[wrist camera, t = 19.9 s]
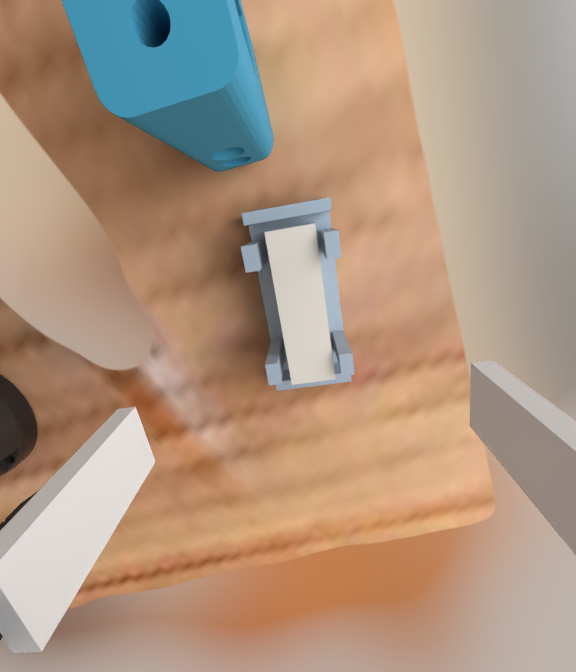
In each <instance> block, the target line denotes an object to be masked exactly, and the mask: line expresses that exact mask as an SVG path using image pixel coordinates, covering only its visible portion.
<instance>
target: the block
mask: <svg viewBox="0 0 576 672" xmlns="http://www.w3.org/2000/svg"><path fill="white" fill-rule="evenodd" d="M62 2H63V5H64V8H65V11H66V13H67V16H68V19H69V21H70V24H71V27H72V29H73V32H74V35H75V38H76V40H77V43H78V46H79V48H80V51H81V54H82V57H83V59H84V62H85V65H86V67H87V70H88V73H89V75H90V78H91V81H92V84H93V86H94V89H95V92H96V94H97V96H98V98H99V100H100V101H101V103H102V104H103V105H104V106H105V108H106V109H108V110H109V111H110V112H111V113H113V114H115V115H116V116H118V117H120V118H122V119H123V120H125V121H127V122H129V123H131V124H132V125H134V126H136V127H138V128H139V129H141V130H143V131H145V132H146V133H148V134H150V135H152V136H154V137H155V138H157V139H159V140H161V141H162V142H164V143H166V144H168V145H170V146H171V147H173V148H175V149H177V150H178V151H180V152H182V153H184V154H185V155H187V156H189V157H191V158H193V159H194V160H196V161H198V162H200V163H201V164H203V165H205V166H207V167H209V168H210V169H212V170H214V171H218V172H221V171H225V170H229V169H232V168H236V167H239V166H243V165H246V164H250V163H253V162H256V161H260V160H263V159H265V158H267V157H268V156H269V154H270V153H271V150H272V145H273V133H272V128H271V124H270V120H269V115H268V111H267V107H266V102H265V98H264V94H263V89H262V85H261V81H260V76H259V72H258V68H257V64H256V59H255V55H254V51H253V46H252V42H251V39H250V35H249V31H248V27H247V23H246V19H245V16H244V12H243V8H242V4H241V0H62Z"/></svg>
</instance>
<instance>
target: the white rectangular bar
mask: <svg viewBox="0 0 576 672" xmlns="http://www.w3.org/2000/svg"><path fill="white" fill-rule="evenodd" d="M264 233H265V239H266V244H267V250H268V255H269V261H270V267H271V272H272V278H273V283H274V289H275V294H276V300H277V305H278V311H279V316H280V322H281V328H282V333H283V339H284V344H285V350H286V355H287V361H288V366H289V372H290V378H291V383H292V385H295V384H303V383H311V382H318V381H326V380H334V379H335V371H334V364H333V356H332V348H331V341H330V333H329V325H328V318H327V310H326V302H325V295H324V287H323V280H322V272H321V264H320V257H319V249H318V241H317V234H316V226H315V223H309V224H303V225H297V226H292V227H286V228H280V229H274V230H269V231H266V232H264Z"/></svg>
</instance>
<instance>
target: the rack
mask: <svg viewBox="0 0 576 672" xmlns="http://www.w3.org/2000/svg"><path fill="white" fill-rule="evenodd" d="M331 210H332V207H331V198H330V197H329V198H324V199H318V200H313V201H307V202H302V203H296V204H290V205H285V206H279V207H274V208H268V209H263V210H257V211H252V212H246V213H242V218H243V223H244V226H246V225H248V226H249V231H250V236H251V241H252V242H250V243H248V244H246V245H244V246H241V251H242V256H243V261H244V266H245V271H246V273H248V272H254V271H257V272H258V277H259V283H260V288H261V293H262V298H263V303H264V308H265V313H266V319H267V324H268V329H269V334H270V339H271V342H270V346H269V350H268V354H267V358H266V362H265V368H266V373H267V378H268V383H269V385H276V390H277V391H280V390H288V389H295V388H303V387H311V386H318V385H326V384H334V383H342V382H349V381H351V375H352V374H354V366H353V357H352V352H351V349H350V346H349V344H348V341H347V339H346V336H345V333H344V331H343V323H342V314H341V306H340V297H339V289H338V280H337V271H336V263H335V258H340V257H341V248H340V239H339V230H336V229H333V228H331V220H330V211H331ZM309 223H315V226H316V234H317V241H318V249H319V257H320V264H321V272H322V280H323V287H324V295H325V302H326V310H327V318H328V325H329V333H330V341H331V348H332V356H333V364H334V371H335V379H334V380H326V381H318V382H311V383H303V384H295V385H292V383H291V378H290V372H289V366H288V361H287V355H286V350H285V344H284V339H283V333H282V328H281V322H280V316H279V311H278V305H277V300H276V294H275V289H274V283H273V278H272V272H271V267H270V261H269V255H268V250H267V244H266V239H265V233H264V232H266V231H269V230H274V229H280V228H286V227H292V226H297V225H303V224H309Z"/></svg>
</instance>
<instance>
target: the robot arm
mask: <svg viewBox="0 0 576 672" xmlns="http://www.w3.org/2000/svg"><path fill="white" fill-rule="evenodd" d="M470 427H471V428H472V429H473V430H474V432H475V433H476V434H477V435H478V436H479V438H480V439H481V440H482V441H483V443H484V444H485V445H486V446H487V447H488V449H489V450H490V451H491V452H492V454H493V455H494V456H495V457H496V458H497V460H498V461H499V462H500V463H501V465H502V466H503V467H504V468H505V469H506V471H507V472H508V473H509V474H510V475H511V477H512V478H513V479H514V480H515V481H516V483H517V484H518V485H519V486H520V488H521V489H522V490H523V491H524V493H525V494H526V495H527V496H528V497H529V499H530V500H531V501H532V502H533V504H534V505H535V506H536V507H537V508H538V509H539V511H540V512H541V513H542V514H543V515H544V517H545V518H546V519H547V521H548V522H549V523H550V524H551V526H552V527H553V528H554V529H555V530H556V532H557V533H558V534H559V535H560V536H561V538H562V539H563V540H564V541H565V543H566V544H567V545H568V546H569V547H570V549H571V550H572V551H573V552H574V554H575V555H576V421H575V420H573V419H572V418H571V417H569V416H568V415H567V414H565V413H564V412H563V411H561V410H560V409H558V408H557V407H556V406H554V405H553V404H552V403H550V402H549V401H547V400H546V399H545V398H543V397H542V396H541V395H539V394H538V393H537V392H535V391H534V390H532V389H531V388H530V387H528V386H527V385H526V384H524V383H523V382H522V381H520V380H519V379H518V378H516V377H515V376H513V375H512V374H511V373H509V372H508V371H507V370H505V369H504V368H503V367H501V366H500V365H498V364H497V363H496V362H494V361H493V360H490V361H482V362H475V363H471V389H470ZM36 439H37V424H36V420H35V417H34V414H33V411H32V409H31V407H30V405H29V404H28V402H27V400H26V399H25V398H24V396H23V395H22V394H21V393H20V391H19V390H18V389H17V388H16V387H15V386H14V385H13V384H11V383H10V382H9V381H8V380H7V379H5V378H4V377H3V376H1V375H0V476H2V475H4V474H6V473H7V472H9V471H10V470H12V469H13V468H14V467H15V466H17V465H18V464H19V463H20V462H21V461H22V460H24V459H25V458H26V457H27V456H28V455H29V454H30V453H31V451H32V450H33V448H34V445H35V443H36ZM154 463H155V459H154V456H153V454H152V451H151V448H150V445H149V443H148V440H147V437H146V434H145V432H144V429H143V426H142V423H141V421H140V418H139V415H138V412H137V409H136V407H130V408H122V409H117V410H116V411H115V412H114V413H113V414H112V416H111V417H110V418H109V419H108V420H107V421H106V422H105V423H104V424H103V425H102V426H101V427H100V428H99V429H98V430H97V431H96V432H95V433H94V434H93V435H92V436H91V437H90V438H89V439H88V440H87V441H86V442H85V443H84V445H83V446H82V447H81V448H80V449H79V450H78V451H77V452H76V453H75V454H74V455H73V456H72V457H71V458H70V459H69V460H68V461H67V462H66V463H65V464H64V465H63V466H62V467H61V468H60V469H59V470H58V471H57V472H56V474H55V475H54V476H53V477H52V478H51V479H50V480H49V481H48V482H47V483H46V484H45V485H44V486H43V487H42V488H41V489H40V490H39V491H37V492H36V493H35V494H33V495H32V496H30V497H29V498H28V499H26V500H25V501H24V502H22V503H21V504H20V505H19V506H18V507H17V508H16V509H15V510H14V511H13V512H12V513H11V514H10V515H9V516H8V517H7V518H6V520H5V522H2V523H1V524H0V640H1V638H3V640H4V641H5V643H6V644H7V645H8V647H9V648H10V650H11V651H12V653H24V652H41V651H42V650H43V648H44V647H45V645H46V644H47V642H48V640H49V639H50V637H51V635H52V634H53V632H54V630H55V629H56V627H57V625H58V624H59V621H60V620H61V619H62V617H63V615H64V613H65V612H66V610H67V609H68V607H69V605H70V604H71V602H72V600H73V599H74V597H75V595H76V594H77V592H78V590H79V589H80V587H81V585H82V584H83V582H84V580H85V579H86V577H87V575H88V574H89V572H90V570H91V569H92V567H93V565H94V564H95V562H96V560H97V559H98V557H99V555H100V554H101V552H102V550H103V549H104V547H105V545H106V544H107V542H108V540H109V539H110V537H111V535H112V534H113V532H114V530H115V528H116V527H117V525H118V523H119V522H120V520H121V518H122V517H123V515H124V513H125V512H126V510H127V508H128V507H129V505H130V503H131V502H132V500H133V498H134V497H135V495H136V493H137V492H138V490H139V488H140V487H141V485H142V483H143V482H144V480H145V478H146V477H147V475H148V473H149V472H150V470H151V468H152V467H153V465H154Z"/></svg>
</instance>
